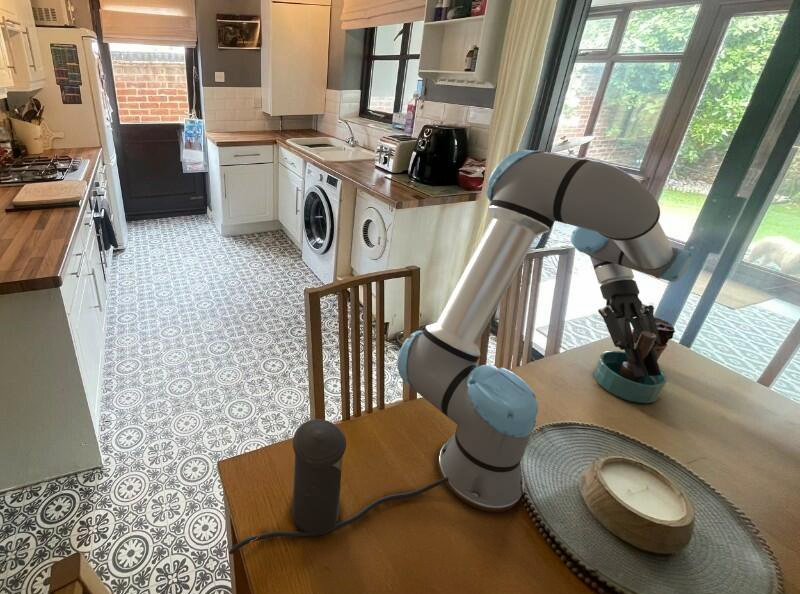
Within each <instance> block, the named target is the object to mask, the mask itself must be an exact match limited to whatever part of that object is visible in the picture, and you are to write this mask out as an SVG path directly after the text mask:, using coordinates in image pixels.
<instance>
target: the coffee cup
mask: <svg viewBox="0 0 800 594" xmlns="http://www.w3.org/2000/svg"><path fill="white" fill-rule="evenodd" d="M654 319H655V322H656V326H657V330H658V334H659V337H660V341H661V343H660V344H658V346H657V347H654V349H655V352H656V355H657V358H658V360H659V359H660V357H661V355H662V353H663V352H664V351H665V349H666V348H667V347H668V344H667V343H669V341H670V340H672V339H673V338H674V333H676V331H675V327H674V326H673V325H672V323H670V322H669V321H667V320H665V319H661V318H659V317H655V316H654ZM632 329H633V328H632ZM632 336H633V341H634V345H635V346H636V343H637V341H638V337H637V335H636V333H635V331H634V329H633V330H632ZM634 348H635V347H634Z"/></svg>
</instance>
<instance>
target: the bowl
mask: <svg viewBox="0 0 800 594" xmlns="http://www.w3.org/2000/svg"><path fill="white" fill-rule="evenodd" d="M626 361H628V359H627V356H626V353H625V351H622V350H607V351H604V352H602V353H601V354H600V355H599V358H598V360H597V363H596V365H595V368H594V370H593V375H594V376H593V377H594V379H595V381H596V382H597V383H598V384H599V386H601V387H602V388H603V389H604V390H606V391H607V392H608V393H610V394H612V395H614V396H615V397H618V398H620V399H622V400H625V401H628V402H633V403H639V404H650V403H655V402H656V401H657V400H658V399H659V397H660V396H661V394H662V392H663V390H664V388H665V386H666V384H667V382H668V379H667V378H668V377H667V376H666V374H665V372H664V371H663V370H662V369H660V368H659V369H660V372H661V375H658V376H642V378H641V380H640V382H639V383H636V382H633V381H631V380H628V379H625V378H623V377H621V376H619V375H618V373H619V371H620V368H621V366H622V364H623V362H626ZM644 366H645V364H644ZM645 369H646V367H645ZM646 372H647V370H646ZM647 374H648V373H647Z"/></svg>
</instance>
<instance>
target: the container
mask: <svg viewBox="0 0 800 594" xmlns="http://www.w3.org/2000/svg"><path fill="white" fill-rule="evenodd" d="M292 448H293V452H294V467H293V470H294V472H293V491H292V507H291V508H292V509H291V510H292V511H291V512H292V515H291V516H292V519H293V522H294V524H295V526H296V527H297V528H298V530H300V532H304V531H305V532H309V533H312V534H314V535H312V537H313V536H314V537H315V536H316V537H318V536H323V535H325V534H327V533H328V532H327V531H328V530H329V529H330V528H331V527H333V526H334V525H335V524H337V522H338V519H339V513H340V500H341V485H342V484H341V482H342V468H343V457H344V454H345V452H346V449H347V439H346V436H345V433H344V432H343V430H342V429H341V428H340V427H339V426H338V425H337V424H335V423H334V422H331V421H330V420H326V419H320V418H317V419H316V418H315V419H310V420H306V421H304V422H303V423H301V424H300V425H299V426H298V427H297V428H296V430H295V432H294V434H293V437H292Z"/></svg>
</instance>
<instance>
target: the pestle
mask: <svg viewBox="0 0 800 594" xmlns="http://www.w3.org/2000/svg"><path fill="white" fill-rule="evenodd" d="M655 339H656V335H655V334H653V333H651V332H648V331H642V333H641V335H640V337H639V339H638V341H637V343H636V346H635V348H639V351H640V354H641V357H642V360H643V363H644V362H645V360H646V358H647V356H648V354H649V352H650V350H651V348H652V346H653V343H654V341H655ZM635 348H634V349H635ZM618 375H619V376H621V377H623V378H625V379H628V380H631V381H633V382H636V383H639V382H640V380H641V378H642V376H641V377H635V374H634V371H633V368H632V365H631V363H629V361H626V362H623V364H622V366H621V368H620V371H619V373H618Z"/></svg>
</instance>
